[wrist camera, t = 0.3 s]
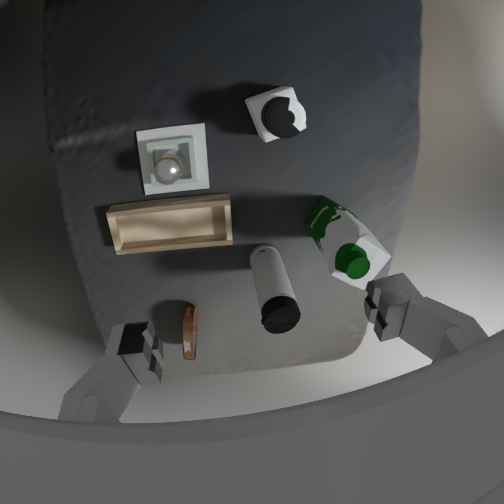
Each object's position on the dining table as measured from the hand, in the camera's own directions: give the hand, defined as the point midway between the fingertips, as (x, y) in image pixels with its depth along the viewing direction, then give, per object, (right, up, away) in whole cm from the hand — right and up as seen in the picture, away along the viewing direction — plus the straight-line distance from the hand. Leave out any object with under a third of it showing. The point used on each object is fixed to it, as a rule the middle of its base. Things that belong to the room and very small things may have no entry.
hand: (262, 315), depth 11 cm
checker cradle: (-14, +19, +40) cm, 47 cm away
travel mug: (+2, +2, +53) cm, 53 cm away
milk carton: (+15, +10, +50) cm, 53 cm away
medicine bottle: (+3, +27, +38) cm, 47 cm away
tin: (-15, -14, +61) cm, 64 cm away
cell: (-14, +18, +40) cm, 46 cm away
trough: (-16, +8, +46) cm, 50 cm away
